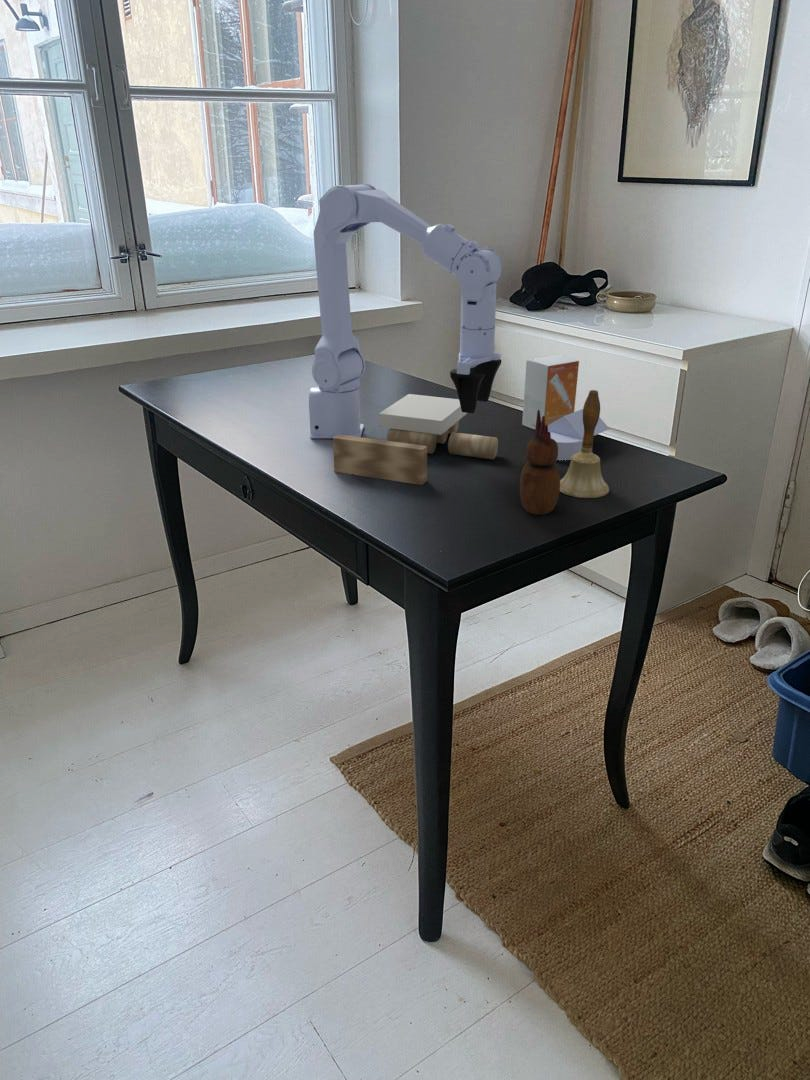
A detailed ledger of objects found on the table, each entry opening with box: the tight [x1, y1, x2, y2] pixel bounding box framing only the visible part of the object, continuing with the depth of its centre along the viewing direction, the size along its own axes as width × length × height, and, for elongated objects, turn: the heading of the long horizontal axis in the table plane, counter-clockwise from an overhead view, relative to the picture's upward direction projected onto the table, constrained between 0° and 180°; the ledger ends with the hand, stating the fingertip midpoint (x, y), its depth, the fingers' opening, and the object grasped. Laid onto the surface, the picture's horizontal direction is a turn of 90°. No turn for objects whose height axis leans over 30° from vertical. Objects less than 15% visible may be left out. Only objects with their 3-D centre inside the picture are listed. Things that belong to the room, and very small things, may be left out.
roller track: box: [386, 420, 460, 454], centre depth 148 cm, size 8×25×4 cm, turn 157°
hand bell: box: [559, 389, 610, 499], centre depth 127 cm, size 8×8×16 cm
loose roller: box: [447, 432, 499, 461], centre depth 144 cm, size 8×4×4 cm, turn 67°
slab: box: [378, 393, 468, 435], centre depth 150 cm, size 12×14×2 cm
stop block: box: [332, 434, 428, 486], centre depth 135 cm, size 16×2×6 cm, turn 67°
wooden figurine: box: [519, 410, 561, 516], centre depth 120 cm, size 7×6×15 cm
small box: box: [521, 354, 580, 430], centre depth 158 cm, size 8×6×13 cm
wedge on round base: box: [548, 408, 611, 462], centre depth 146 cm, size 9×7×13 cm
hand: (475, 406), depth 142 cm, fingers open, 7 cm apart
